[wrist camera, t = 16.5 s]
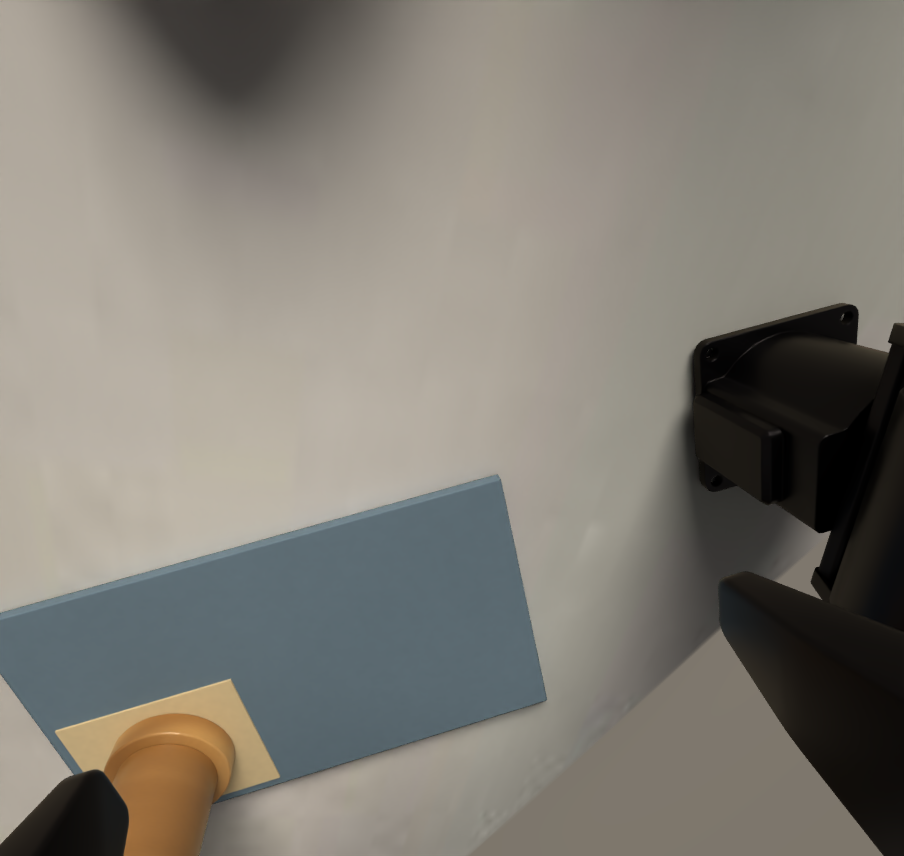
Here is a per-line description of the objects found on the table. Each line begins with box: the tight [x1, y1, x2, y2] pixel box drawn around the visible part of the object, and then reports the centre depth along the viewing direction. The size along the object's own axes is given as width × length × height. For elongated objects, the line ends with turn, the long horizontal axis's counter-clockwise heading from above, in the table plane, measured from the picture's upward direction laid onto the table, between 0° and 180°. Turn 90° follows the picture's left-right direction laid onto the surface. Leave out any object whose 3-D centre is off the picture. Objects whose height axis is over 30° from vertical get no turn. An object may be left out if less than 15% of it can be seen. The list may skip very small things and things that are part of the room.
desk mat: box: [0, 475, 547, 804], centre depth 23 cm, size 20×12×1 cm, turn 103°
